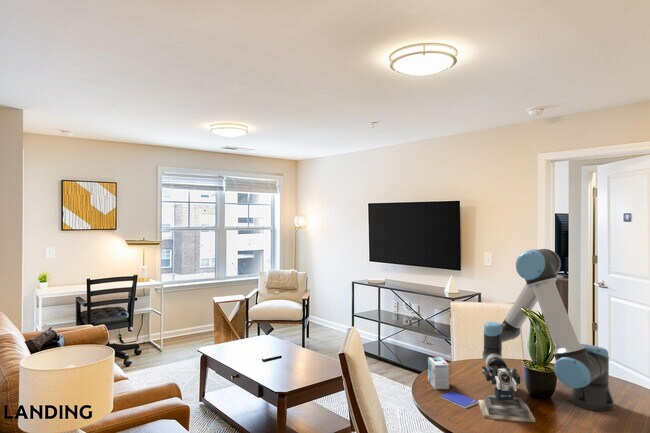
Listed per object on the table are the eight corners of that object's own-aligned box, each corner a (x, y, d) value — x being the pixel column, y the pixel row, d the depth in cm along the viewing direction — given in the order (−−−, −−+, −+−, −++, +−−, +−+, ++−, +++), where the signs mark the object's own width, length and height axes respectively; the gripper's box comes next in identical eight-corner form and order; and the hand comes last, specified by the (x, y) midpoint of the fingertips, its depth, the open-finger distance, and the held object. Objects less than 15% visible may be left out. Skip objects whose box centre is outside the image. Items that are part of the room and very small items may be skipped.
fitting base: (526, 406, 171) (526, 397, 171) (535, 422, 158) (535, 412, 158) (478, 402, 175) (478, 393, 175) (483, 417, 161) (483, 408, 161)
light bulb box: (427, 380, 199) (427, 357, 199) (441, 380, 199) (441, 356, 199) (434, 389, 188) (434, 364, 188) (449, 389, 189) (449, 364, 189)
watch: (499, 402, 163) (498, 373, 163) (493, 393, 171) (492, 365, 171) (515, 402, 163) (514, 373, 162) (508, 393, 171) (507, 365, 171)
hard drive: (478, 400, 174) (453, 390, 184) (465, 405, 169) (440, 395, 180) (478, 404, 174) (453, 394, 184) (465, 409, 169) (440, 399, 180)
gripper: (519, 376, 182) (533, 399, 160) (474, 372, 186) (481, 394, 163) (519, 358, 182) (533, 378, 160) (474, 355, 186) (481, 374, 163)
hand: (507, 386), depth 162 cm, fingers closed on watch, 5 cm apart
